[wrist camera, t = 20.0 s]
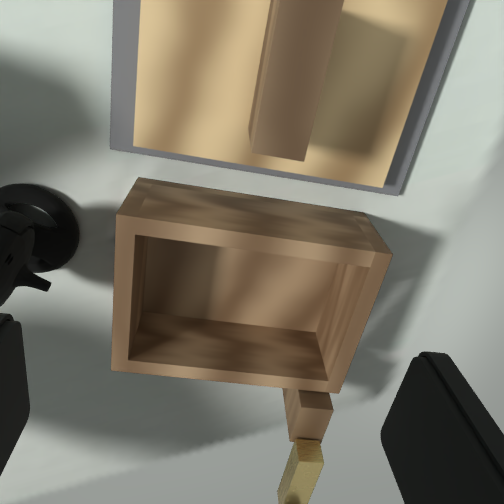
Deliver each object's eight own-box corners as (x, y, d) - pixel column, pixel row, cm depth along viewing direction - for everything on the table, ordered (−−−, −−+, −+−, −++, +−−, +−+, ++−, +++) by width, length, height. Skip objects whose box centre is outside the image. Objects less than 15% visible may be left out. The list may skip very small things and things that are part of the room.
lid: (137, 140, 30) (111, 173, 24) (150, -86, 24) (119, -126, 17) (376, 181, 32) (413, 221, 26) (443, -17, 26) (513, -29, 20)
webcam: (-4, 162, 31) (-97, 218, 22) (94, 207, 33) (45, 274, 24) (-28, 245, 34) (-118, 322, 25) (63, 281, 36) (9, 364, 27)
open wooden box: (128, 350, 40) (104, 425, 33) (138, 177, 32) (109, 224, 25) (311, 370, 42) (328, 444, 35) (363, 212, 34) (400, 266, 27)
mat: (111, 146, 31) (109, 149, 30) (118, -115, 24) (116, -118, 23) (395, 193, 34) (398, 196, 33) (476, -29, 27) (481, -30, 26)
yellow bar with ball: (277, 491, 37) (280, 526, 35) (295, 438, 34) (300, 473, 31) (299, 492, 37) (304, 528, 35) (319, 440, 34) (326, 475, 32)
